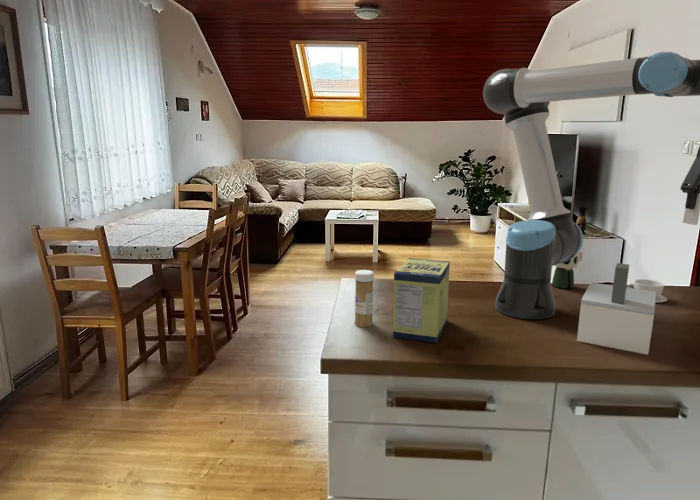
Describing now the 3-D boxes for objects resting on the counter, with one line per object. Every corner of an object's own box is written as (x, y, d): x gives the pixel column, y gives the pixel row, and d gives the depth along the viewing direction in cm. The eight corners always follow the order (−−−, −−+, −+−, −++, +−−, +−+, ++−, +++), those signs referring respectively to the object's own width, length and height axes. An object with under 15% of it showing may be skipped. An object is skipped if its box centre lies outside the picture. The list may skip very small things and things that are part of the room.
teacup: (666, 296, 146) (669, 281, 145) (667, 306, 138) (670, 289, 137) (627, 291, 151) (629, 276, 150) (626, 300, 143) (628, 284, 142)
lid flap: (590, 285, 125) (594, 251, 123) (655, 294, 117) (660, 258, 115) (581, 303, 111) (585, 264, 109) (653, 314, 104) (659, 273, 102)
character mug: (552, 291, 150) (556, 249, 147) (540, 284, 157) (543, 244, 154) (585, 289, 152) (590, 247, 149) (571, 283, 158) (576, 243, 156)
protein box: (447, 320, 126) (450, 260, 122) (437, 344, 111) (440, 276, 108) (406, 315, 129) (408, 257, 126) (391, 338, 115) (393, 272, 111)
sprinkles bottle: (350, 324, 123) (350, 271, 120) (364, 319, 126) (364, 268, 123) (363, 329, 120) (364, 275, 117) (377, 324, 123) (377, 271, 120)
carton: (576, 340, 113) (580, 303, 111) (586, 319, 127) (590, 285, 125) (648, 354, 106) (653, 315, 104) (650, 330, 119) (655, 295, 117)
